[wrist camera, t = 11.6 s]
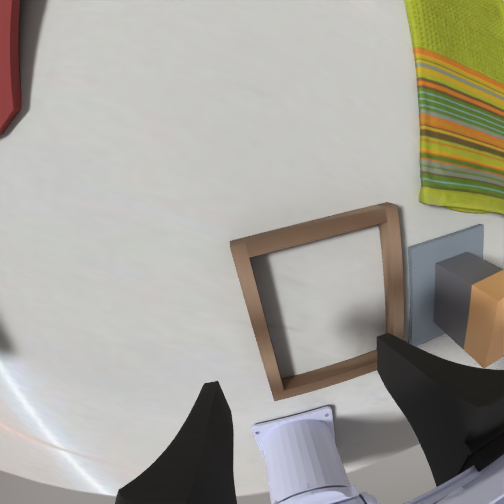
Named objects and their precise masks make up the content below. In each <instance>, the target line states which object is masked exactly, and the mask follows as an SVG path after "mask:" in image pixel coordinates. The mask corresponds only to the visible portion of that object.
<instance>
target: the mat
mask: <svg viewBox="0 0 504 504" xmlns="http://www.w3.org/2000/svg"><path fill="white" fill-rule="evenodd" d="M483 237H484V226H483V225H482V224H478V225H475V226H472V227H469V228H466V229H463V230H460V231H457V232H454V233H451V234H448V235H445V236H442V237H439V238H436V239H433V240H429V241H426V242H423V243H420V244H417V245H413V246H410V247H408V256H409V280H410V326H409V344H411V345H413V346H418V345H420V344H422V343H425V342H427V341H429V340H431V339H433V338H436V337H438V336H440V335H442V334H444V333H445V332H444V331H443V330H442V329H441V328H440V327H438V326H437V325H436V324H435V323H434V322H433V319H434V302H435V263H437V262H440V261H442V260H445V259H448V258H451V257H453V256H456V255H459V254H462V253H464V252H469V253H471V254H473V255H475V256H477V257H479V258H481V259H483Z"/></svg>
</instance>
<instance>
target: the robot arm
mask: <svg viewBox="0 0 504 504" xmlns="http://www.w3.org/2000/svg"><path fill="white" fill-rule="evenodd" d="M377 371H378V373H379V375H380V377H381V379H382V381H383V383H384V385H385V387H386V388H387V390H388V391H389V393H390V394H391V396H392V397H393V399H394V400H395V402H396V403H397V405H398V406H399V408H400V409H401V410H402V412H403V413H404V415H405V416H406V418H407V419H408V421H409V423H410V424H411V426H412V428H413V430H414V432H415V434H416V436H417V438H418V440H419V442H420V444H421V447H422V449H423V451H424V453H425V455H426V458H427V461H428V463H429V466H430V468H431V471H432V474H433V477H434V480H435V483H436V486H437V487H436V488H435V489H432V490H431V491H429V492H427V493H425V494H423V495H421V496H419V497H417V498H414V499H413V500H410V501H408V502H406V503H404V504H504V370H492V369H482V368H476V367H471V366H466V365H462V364H458V363H455V362H451V361H448V360H445V359H442V358H440V357H437V356H435V355H432V354H430V353H428V352H426V351H423V350H421V349H419V348H417V347H415V346H413V345H411V344H409V343H407V342H406V341H404V340H402V339H400V338H398V337H396V336H394V335H392V334H390V333H387V334H384V335H381V336H379V337H377ZM327 413H328V414H327ZM251 428H252V432H253V435H254V437H255V439H256V442H257V444H258V446H259V449H260V451H261V453H262V455H263V458H264V460H265V464H266V471H267V477H268V484H269V491H270V497H271V504H379V502H378V500H377V499H376V498H375V497H374V496H373V495H371V494H369V493H367V492H362V493H360V494H359V493H358V490H357V487H356V485H353V486H351V485H350V482H349V480H348V477H347V474H346V471H345V469H344V466H343V463H342V461H341V458H340V455H339V452H338V450H337V447H336V444H335V434H334V424H333V415H332V409H331V407H330V406H326V407H322V408H319V409H316V410H312V411H309V412H305V413H301V414H298V415H294V416H290V417H286V418H282V419H278V420H273V421H269V422H265V423H260V424H255V425H253V426H252V427H251ZM115 504H237V501H236V494H235V486H234V477H233V422H232V415H231V410H230V408H229V405H228V403H227V401H226V399H225V396H224V394H223V392H222V389H221V387H220V385H219V382H218V381H215V382H210V383H205V384H204V385H203V387H202V389H201V391H200V394H199V396H198V398H197V400H196V402H195V404H194V406H193V408H192V410H191V412H190V414H189V416H188V417H187V419H186V421H185V423H184V424H183V426H182V427H181V429H180V431H179V432H178V434H177V435H176V437H175V438H174V440H173V441H172V442H171V444H170V445H169V446H168V447H167V449H166V450H165V451H164V452H163V453H162V454H161V456H160V457H159V458H158V459H157V460H156V461H155V462H154V463H153V464H152V465H151V466H150V467H149V468H148V469H146V470H145V471H144V472H143V473H142V474H141V475H139V476H138V477H137V478H135V479H134V480H133V481H131V482H130V483H128V484H127V485H125V486H124V487H123V488H121V489H119V491H118V494H117V497H116V502H115Z"/></svg>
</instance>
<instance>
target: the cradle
mask: <svg viewBox="0 0 504 504" xmlns="http://www.w3.org/2000/svg"><path fill="white" fill-rule="evenodd" d="M377 224H379V230H380V239H381V249H382V259H383V271H384V286H385V305H386V334H387V333H390V334H392V335H394V336H396V337H398V338H400V339H402V340H403V338H404V286H403V263H402V248H401V235H400V225H399V215H398V207H397V205H395V204H391V203H388V202H386V203H382V204H378V205H374V206H370V207H365V208H361V209H357V210H353V211H349V212H345V213H340V214H336V215H332V216H328V217H324V218H320V219H316V220H312V221H308V222H304V223H300V224H296V225H292V226H288V227H284V228H280V229H276V230H272V231H268V232H264V233H260V234H256V235H252V236H248V237H244V238H240V239H237V240H233V241H230V248H231V252H232V256H233V259H234V263H235V267H236V270H237V274H238V277H239V281H240V284H241V288H242V292H243V295H244V299H245V302H246V306H247V309H248V313H249V316H250V320H251V323H252V327H253V330H254V334H255V337H256V341H257V344H258V347H259V351H260V354H261V358H262V361H263V364H264V368H265V371H266V375H267V378H268V381H269V385H270V388H271V391H272V395H273V398H274V401H277V400H281V399H285V398H289V397H293V396H297V395H301V394H304V393H308V392H311V391H315V390H318V389H321V388H325V387H328V386H331V385H334V384H338V383H341V382H344V381H347V380H350V379H353V378H356V377H358V376H361V375H364V374H367V373H370V372H372V371H375V370H377V350H375V351H372V352H370V353H367V354H364V355H361V356H358V357H355V358H352V359H349V360H346V361H343V362H340V363H337V364H334V365H331V366H327V367H324V368H321V369H317V370H314V371H311V372H307V373H304V374H300V375H296V376H293V377H289V378H285V379H281V377H280V374H279V370H278V366H277V362H276V358H275V355H274V351H273V347H272V343H271V339H270V335H269V332H268V328H267V324H266V320H265V316H264V312H263V309H262V305H261V301H260V297H259V293H258V289H257V286H256V282H255V278H254V274H253V270H252V266H251V262H250V259H249V258H250V257H254V256H258V255H262V254H266V253H269V252H273V251H277V250H281V249H285V248H289V247H293V246H297V245H301V244H304V243H308V242H312V241H316V240H320V239H324V238H328V237H331V236H335V235H339V234H343V233H347V232H351V231H354V230H358V229H362V228H366V227H370V226H374V225H377Z"/></svg>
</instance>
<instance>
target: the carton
mask: <svg viewBox="0 0 504 504" xmlns="http://www.w3.org/2000/svg"><path fill="white" fill-rule="evenodd" d="M19 10H20V0H0V135H1V134H3V132H4V131H5V130H6V128H7V127H8V125H9V124H10V123H11V121H12V120H13V119H14V117H15V116H16V115H17V113H18V112H19V111H20V109H21V88H20V74H19V43H18V41H19Z"/></svg>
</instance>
